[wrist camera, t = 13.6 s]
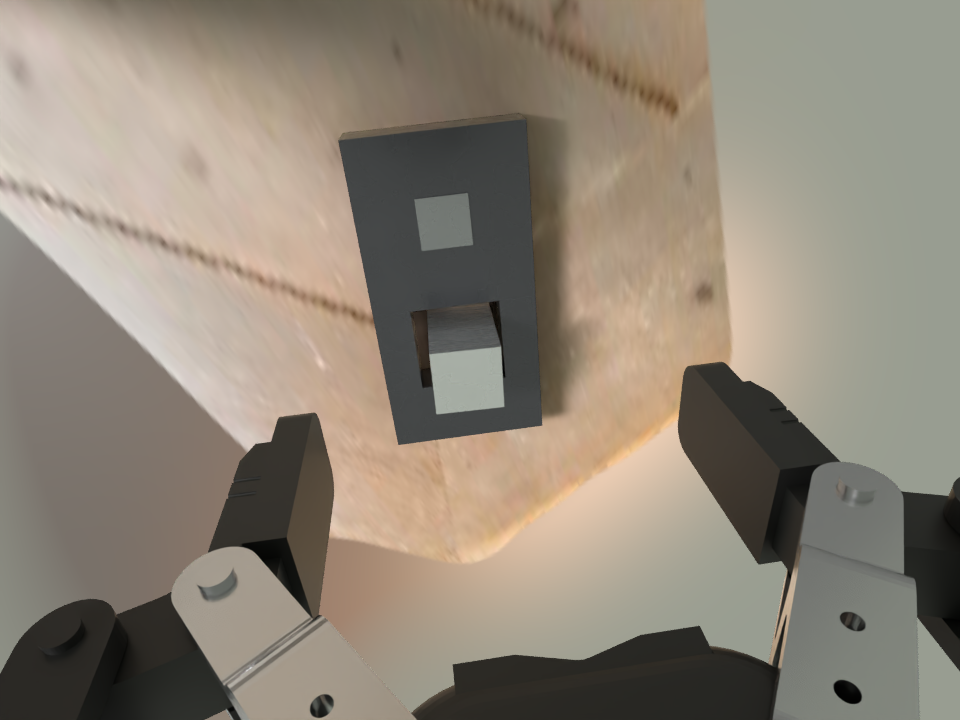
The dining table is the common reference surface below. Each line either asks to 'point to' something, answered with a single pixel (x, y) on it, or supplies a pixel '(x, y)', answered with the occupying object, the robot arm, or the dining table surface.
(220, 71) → the dining table surface
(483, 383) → the grey rectangular block
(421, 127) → the dark grey flat board
